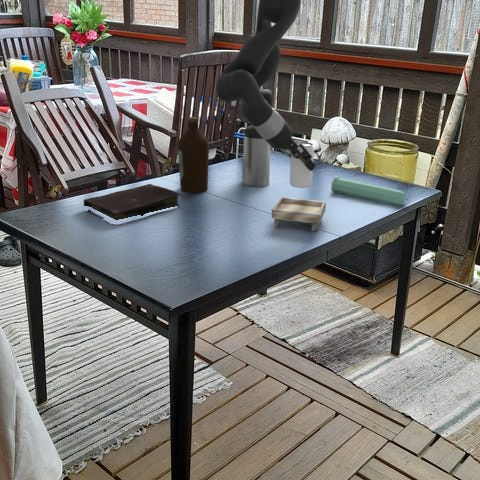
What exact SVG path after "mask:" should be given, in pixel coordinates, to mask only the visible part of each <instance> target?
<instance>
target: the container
mask: <svg viewBox="0 0 480 480" xmlns="http://www.w3.org/2000/svg"><path fill="white" fill-rule="evenodd" d="M330 190H331V192H332V193H338V194H343V195H346V196H352V197H356V198H361V199H366V200H371V201H376V202H380V203H383V204H384V203H385V204H390V205H395V206H402V205H403V204H404V203H405V199H406V193H405V192H404V191H402V190H401V189H400V190H399V189H394V188H391V187H386V186H385V187H384V186H380V185H375V184H369V183H366V182H360V181H356V180H352V179H351V180H350V179H345V178H341V177H340V176H338V175H337V176H334V177H333V179H332V182H331V188H330Z"/></svg>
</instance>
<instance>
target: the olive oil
mask: <svg viewBox="0 0 480 480" xmlns="http://www.w3.org/2000/svg"><path fill="white" fill-rule="evenodd" d="M198 119H199V118H198V117H197V116H189V117H188V118H187V130H186V131H185V132H184V133H183V134H182V135H181V136H180V138H179V140H178V142H177V156H178V157H177V158H178V166H179V167H178V169H179V182H180V184H179V185H180V191H181V190H182V191H181V192H182V193H185V192H187V194H201V192H202V193H205V192H207V191H208V189H209V188H208V187H209V182H208V181H209V157H210V155H209V154H210V145H209V141H208V138H207V137H206V136H205V135H204V134H203V133H202V131H200V129H199V122H198Z"/></svg>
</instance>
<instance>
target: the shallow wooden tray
mask: <svg viewBox="0 0 480 480" xmlns="http://www.w3.org/2000/svg"><path fill="white" fill-rule="evenodd" d="M326 204H327V202H326V201H324V200H313V199H303V198H294V197H293V198H292V197H281V196H280V197H279V199H278V200H277V202H276V203H275V204H274V206H273V207H272V209H271V219H274V227H275V228H280V227H281V221H283V220H285V221H295V222H302V223H304V222H305V223H311V231H312V232H317V231H318V225H319V224H320V223H321V221H322V219H323V217H324V214H325V212H326V206H327V205H326ZM279 226H280V227H279ZM316 230H317V231H316Z"/></svg>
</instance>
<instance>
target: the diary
mask: <svg viewBox="0 0 480 480" xmlns="http://www.w3.org/2000/svg"><path fill="white" fill-rule="evenodd" d="M182 195H183V194H182V193H180V192H178V191H175V190H173V189H169V188H165V187H162V186H159V185H155V184H152V183H147V184H144V185H141V186H138V187H133V188H129V189H122V190H118V191H114V192H110V193H108V194H105V195H101V196H100V195H98V196H96V197H90V198H85V199H83V207H84V206H89V207H92V208H93V209H95V210H97V211H99V212H101V213H103V214H105V215H107V216H109V217H111V218H113V219H115V220H119V219H124V218H128V217H132V216H137V215H141V216H143V215H144V214H146V213H149V212H154V211H158V210H162V209H166V208H170V207H175V206H179V201H178V199H179V196H182Z"/></svg>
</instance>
